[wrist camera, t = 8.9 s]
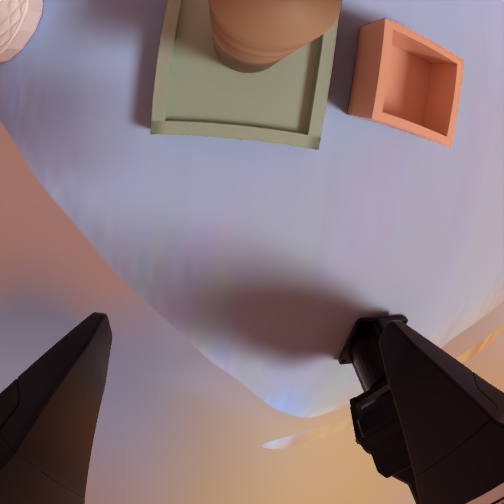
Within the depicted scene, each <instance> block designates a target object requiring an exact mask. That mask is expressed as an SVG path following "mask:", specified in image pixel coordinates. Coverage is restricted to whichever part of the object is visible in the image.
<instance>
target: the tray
mask: <svg viewBox="0 0 504 504" xmlns="http://www.w3.org/2000/svg"><path fill="white" fill-rule="evenodd" d="M338 19H339V16H338V18H337V20H336V22H335V23H334V24H333V26H332V27H331V28H330V29H329V30H328V31H327V32H325V33H324V34H323V35H321V36H319V37H318V38H316V39H314V40H313V41H311V42H309V43H307V44H306V45H304V46H302V47H301V48H299V49H298V50H296V51H294V52H293V53H291V54H289V55H288V56H286V57H285V58H283V59H282V60H280V61H279V62H277V63H276V64H274V65H273V66H271V67H270V68H268V69H266V70H264V71H261V72H257V73H242V72H238V71H235V70H232V69H230V68H229V67H227V66H226V65H224V64H223V63H222V62H221V60H220V59H219V58H218V56H217V54H216V52H215V48H214V41H213V33H212V26H211V19H210V11H209V4H208V0H168V1H167V5H166V10H165V15H164V21H163V26H162V32H161V38H160V45H159V52H158V59H157V66H156V75H155V84H154V93H153V104H152V117H151V133H150V134H168V135H193V136H210V137H223V138H234V139H245V140H254V141H262V142H270V143H278V144H285V145H292V146H299V147H305V148H311V149H317V150H318V149H319V144H320V138H321V133H322V127H323V121H324V116H325V110H326V104H327V98H328V91H329V85H330V78H331V72H332V65H333V58H334V51H335V43H336V35H337V27H338Z"/></svg>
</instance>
